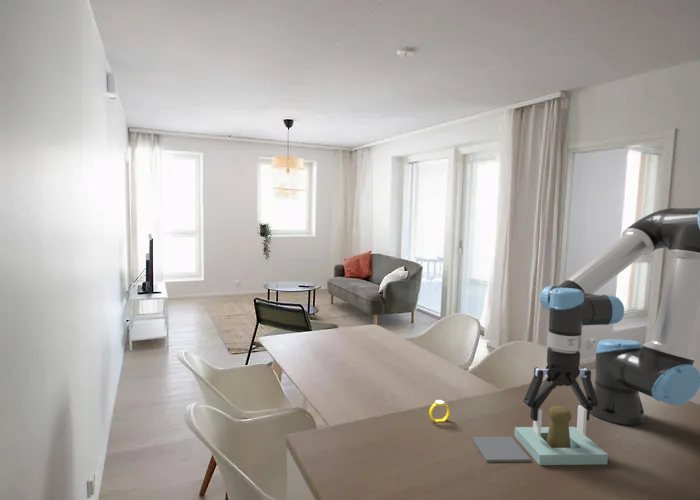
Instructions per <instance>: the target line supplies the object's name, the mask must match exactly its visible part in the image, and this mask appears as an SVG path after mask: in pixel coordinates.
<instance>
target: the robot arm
mask: <svg viewBox="0 0 700 500" xmlns="http://www.w3.org/2000/svg"><path fill="white" fill-rule="evenodd" d="M659 249H660V250H661V249H667V253H668V254H669V256H670V257H671V258H672V260H671V263H670V266H669V267H670V268H669V270H668V275H667V279H666V283H665V287H664V289H663V294H662V298H661V301H660V305H659V309H658V313H657V316H656V321H655V324H654V329H653V333H652V335H651V340H650V341H649V342H648V341H647V342H646V343H643V344H642V343H641V342H640V341H637V340H630V339H623V338H622V339H621V338H619V339H618V338H617V339H616V338H607V339H606V338H605V339H602V340H600V341H598V343H597V345H596V346H597V347H596V351H595V370H594V371H595V373H594V375H595V376H594V385H593V382H592V371H591V370H590V369H587V368H586V367H581V368H579V366H580V363H581V352H580V350H581V345H582V343H581V342H582V332H583V331H582V330H583V326H601V325H602V326H608V325H613V324H617V323H619V322H620V321H622V320H623V317H624V315H625V307H624V304H623V302H622V301H621V299H620V298H619V297H617V296H616V295H611V294H610V295H607V294H601V295H599V294H598V295H597V294H595V293H597V292H598V290H600V289H601V288H603V287H604V286H605V285H607V284H608V283H609V282H610V281H612V280H613V279H614V278H616V276H619V274H621V272H623V271H624V270H625V269H627V268H628V267H630V266H631V265H632V264H633V263H635V261H637V260H638V259H639V258H640V257H642V256H648V255H651V253H653V252H654V251H656V250H659ZM539 301H540V305H541V306H542V308H544V309H545V310H547V311H549V313H548V314H549V315H548V330H547V331H548V333H547V346H548V348H547V351H546V364H547V365H546V367H545V368H539V367H537V366H535V367H534V369H533V377H532V379H531V382H530V384H529V386H528V389H527V391H526V394H525V396H524V399H523V403H524V404H526V406H527V407H529V408H530V415H529V417H530V419H531V420H532V427H533V430H534V431H535V432H536V433H537V434H538V435H541V427H542V419H543V409H542V408H541V406H542V405H543V404H544V402H545V400H546V399H547V398H548V397H549V395H550V393H552V391H553V390H554V389H556V387H563V386H566V387H570V388H571V389H572V392H573V393H574V395H575V396H576V398H577V399H578V401H579V403H580V404H581V405H578V404H577V417H576V419H577V420H576V428H577V430H578V431H579V432H580V433H581V434H583V435H585V436H587V435H586V433H587V432H586V431H587V421H589V420H590V415H592V416H595V417H596V418H598V419H600V420H604V421H606V422H610V423H613V424H618V425H626V426H627V425H628V426H635V425H636V426H638V425H642V424H644V422H645V410H644V407H643V404H642V400H641V398H640V393H641V394H643V395H646V396H648V397H651V398H653V399H654V400H656V401H658V402H662V403H665V404H668V405H671V406H680V405H684V404H686V403H688V401H691V400H692V399H693V398H694V397H695V396H696V394H698V391H699V389H700V371H699V369H697V368H696V367H695V366H694V364H695V363H694V362H695V357H694V356H693V355H692V353H691V352H690V349H691V346H692V345H691V344H692V341H693V337H694V333H695V330H696V326H697V322H698V318H699V314H700V207H683V208H680V207H679V208H678V207H677V208H676V207H674V208H664V209H659V210H657V211H653V212H652V213H649V214H648V215H645V216H644V217H641V218H640V219H639V220H637V221H635V222H634V223H632V224H631V225H629V226H628V227H627V228H626V229H624V230H623V232H622V233H621V236H620V237H619V238H618V239H617V240H616V241H615V242H613V243H612V244H611V245H609V246H608V247H607V248H605V249H604V250H603V251H602V252H600V253H599V254H597V256H595V257H594V258H592V260H590V261H589V262H588V263H586V264H585V265H584V266H582V267H581V268H580V269H579V270H577V271H575V273H573V274H572V275H571V276H570V277H568V278H567V279H566V280H564V281H563V282H562V283H560V284H559V285H547V286H544V288H543V289H542V290H541V291H540V295H539ZM546 375H547V377H546ZM578 377H580V379H581V382H582V386H583V390H584V392H585V394H584V392H583V391H582V389H581V387H580V384H579V382H578V381H577V378H578ZM544 378H545V379H544ZM543 380H544V383H543ZM542 383H543V384H542ZM585 395H586V396H585Z"/></svg>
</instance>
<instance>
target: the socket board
mask: <svg viewBox="0 0 700 500" xmlns="http://www.w3.org/2000/svg"><path fill="white" fill-rule="evenodd" d="M548 431H549V426H541V435H538V434H537V433H536V432H535V431H534V430H533V426H514V437H515V438H516V441H518V442H519V444H520V445H522V446H523V448H524V449H525V450H526V451H527V452H528V454H529V455H530V456H531V458H532V459H534V461H535V462H536V463H537V464H538V465H539V466H568V465H569V466H574V465H575V466H577V465H580V466H581V465H582V466H583V465H586V466H587V465H590V466H591V465H608V458H609V454H608V453H607V452H606V451H604V450H603V449H602V447H599V445H597V444H596V443H595V442H594V441H592V439H590V438H589V437H588V436H587V435H583V434H581V433H580V432H579V431H578V430H577V426H569V434H570V446H571V448H552V447H551V446H550V445H549V444H548V443H547V442H546V440H547V436H548Z"/></svg>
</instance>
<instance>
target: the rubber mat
mask: <svg viewBox="0 0 700 500" xmlns="http://www.w3.org/2000/svg"><path fill="white" fill-rule="evenodd" d="M471 441H472V443H473V444H474V446H475V447H476V448H477V450H478V452H479V453H480V455H481V456H482V458H483V459H484V461H485V462H486V463H522V462H523V463H524V462H525V463H528V462H529V463H530V462H531V460H532V459H531V458H530V457H529V455H528V454H527V453H526V452H525V451H524V449H522V447H520V445H519V444H518V443H517V440H515V439H514V438H513V437H512V436H471Z"/></svg>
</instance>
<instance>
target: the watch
mask: <svg viewBox="0 0 700 500" xmlns="http://www.w3.org/2000/svg"><path fill="white" fill-rule="evenodd" d="M437 406H439V407H443V406H445V407H446V414H445V416H444V417H443V418H436V419H435V418H434V416H433V411H434V409H435V408H436V407H437ZM429 407H430V408H429V411H428V414H429V416H430V419H431V421H433V422H434V423H445V422H446V421H447V420H448V419H449V418H450V414H451V409H450V407H449V406H448V404H447V403H446V402H445V401H444V400H442V399H436V400H435V401H434V403H432V405H431V406H429Z"/></svg>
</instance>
